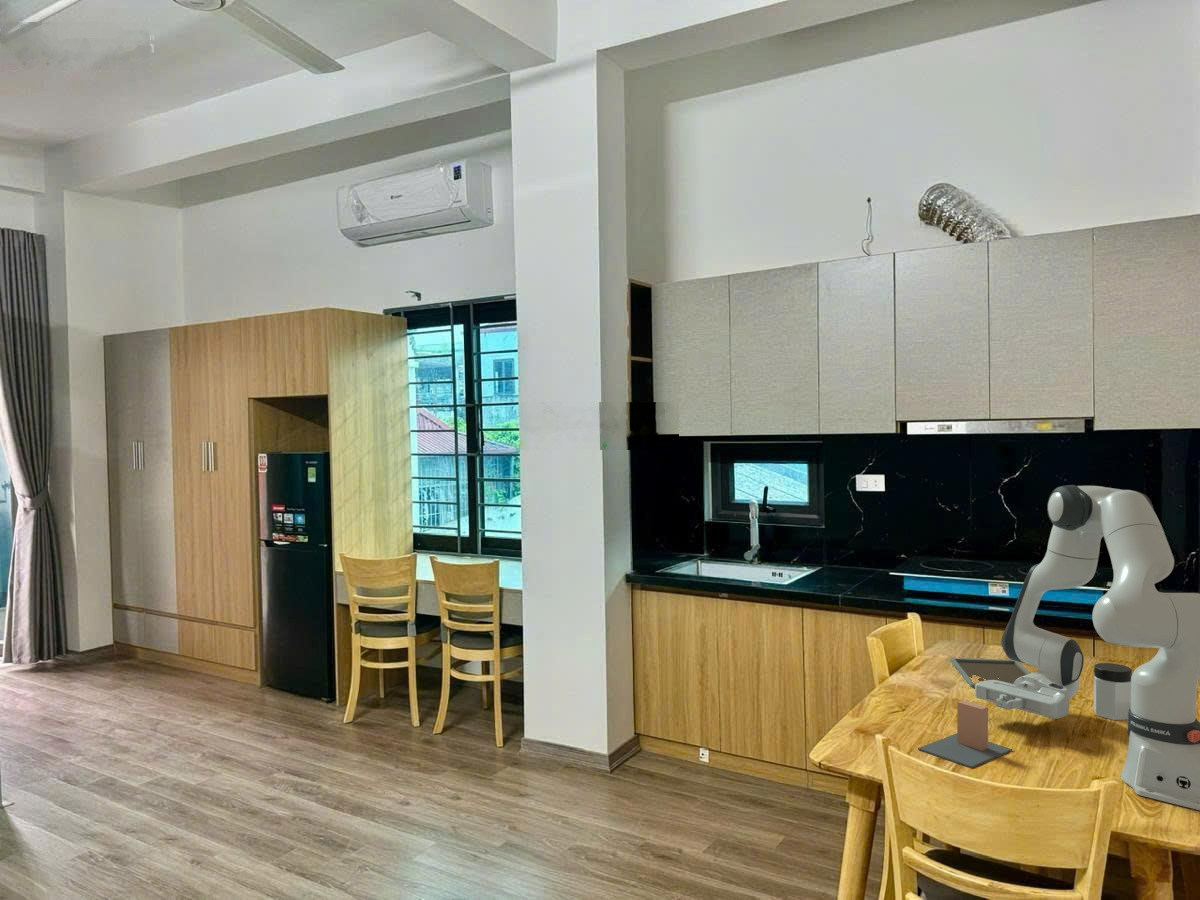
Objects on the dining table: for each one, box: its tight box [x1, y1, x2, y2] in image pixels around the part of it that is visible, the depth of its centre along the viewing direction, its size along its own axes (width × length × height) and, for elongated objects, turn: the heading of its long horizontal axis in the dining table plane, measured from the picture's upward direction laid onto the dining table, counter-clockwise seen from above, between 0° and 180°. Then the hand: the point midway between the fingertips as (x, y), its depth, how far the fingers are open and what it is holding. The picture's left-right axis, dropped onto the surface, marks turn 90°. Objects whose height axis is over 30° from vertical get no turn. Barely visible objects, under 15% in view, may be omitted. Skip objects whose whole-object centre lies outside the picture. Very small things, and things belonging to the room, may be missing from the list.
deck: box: [956, 699, 989, 751], centre depth 195 cm, size 2×6×9 cm, turn 35°
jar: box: [1093, 662, 1133, 721], centre depth 215 cm, size 9×8×12 cm
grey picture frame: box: [949, 657, 1032, 688], centre depth 251 cm, size 19×2×30 cm
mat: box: [917, 732, 1013, 769], centre depth 194 cm, size 13×16×1 cm
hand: (1001, 704), depth 202 cm, fingers closed
